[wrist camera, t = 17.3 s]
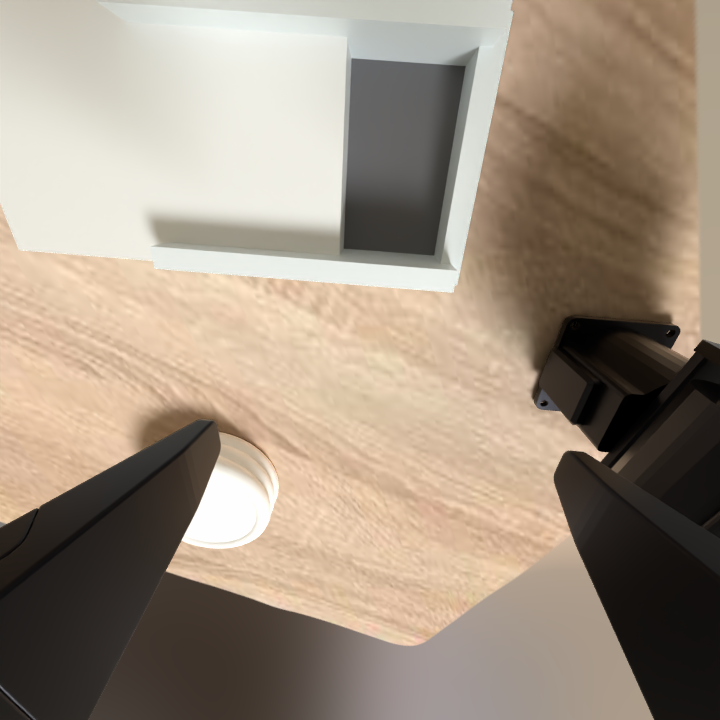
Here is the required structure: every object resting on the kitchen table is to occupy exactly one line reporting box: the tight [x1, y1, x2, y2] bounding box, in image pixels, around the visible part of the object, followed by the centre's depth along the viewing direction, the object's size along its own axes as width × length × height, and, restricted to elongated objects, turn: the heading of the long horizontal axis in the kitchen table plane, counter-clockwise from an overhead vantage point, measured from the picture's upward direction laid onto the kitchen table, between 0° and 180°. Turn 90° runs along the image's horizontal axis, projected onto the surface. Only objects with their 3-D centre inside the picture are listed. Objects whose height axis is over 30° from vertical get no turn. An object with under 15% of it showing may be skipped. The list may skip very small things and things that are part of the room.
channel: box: [0, 0, 514, 293], centre depth 15 cm, size 22×10×4 cm, turn 86°
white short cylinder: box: [181, 432, 279, 548], centre depth 26 cm, size 10×10×4 cm
